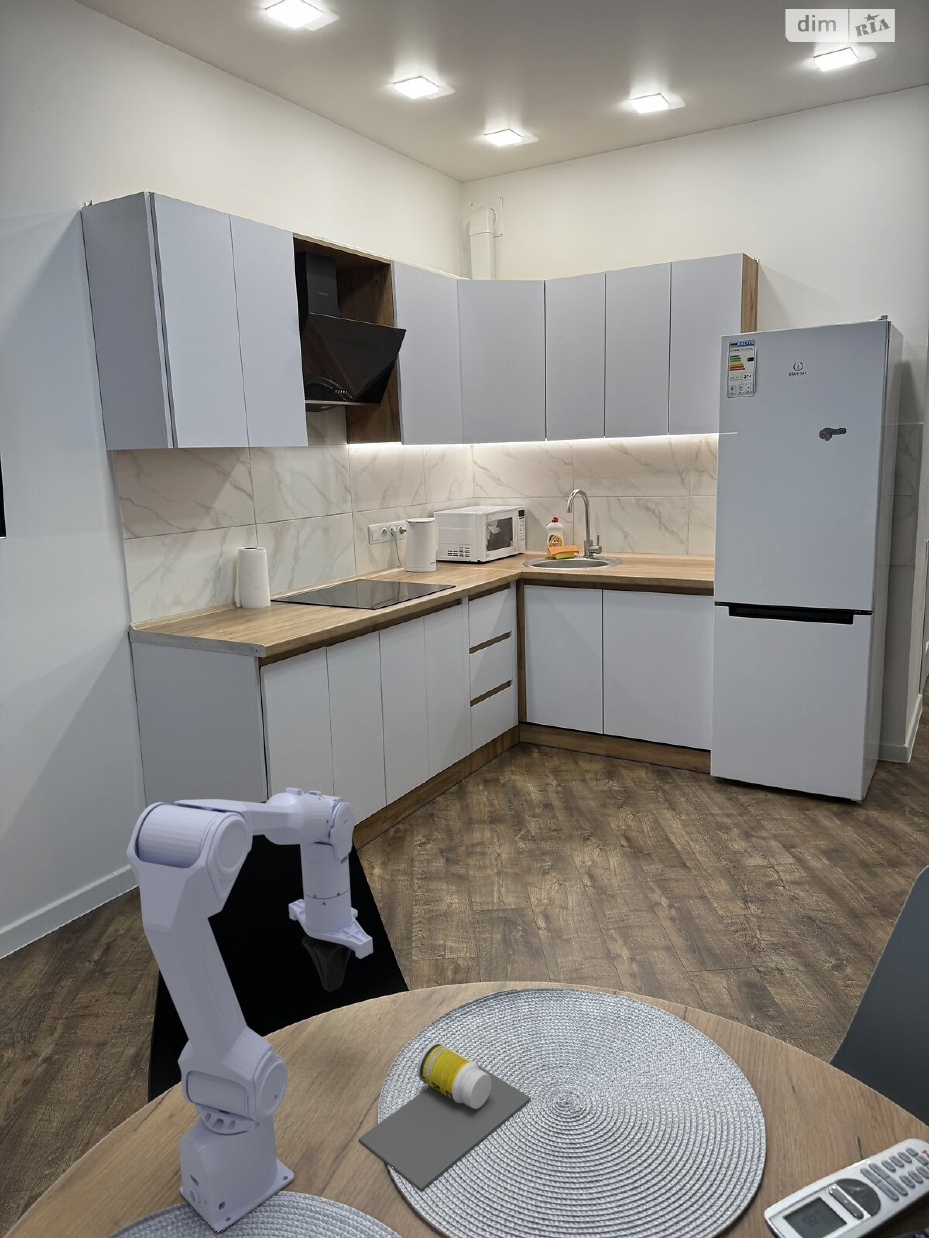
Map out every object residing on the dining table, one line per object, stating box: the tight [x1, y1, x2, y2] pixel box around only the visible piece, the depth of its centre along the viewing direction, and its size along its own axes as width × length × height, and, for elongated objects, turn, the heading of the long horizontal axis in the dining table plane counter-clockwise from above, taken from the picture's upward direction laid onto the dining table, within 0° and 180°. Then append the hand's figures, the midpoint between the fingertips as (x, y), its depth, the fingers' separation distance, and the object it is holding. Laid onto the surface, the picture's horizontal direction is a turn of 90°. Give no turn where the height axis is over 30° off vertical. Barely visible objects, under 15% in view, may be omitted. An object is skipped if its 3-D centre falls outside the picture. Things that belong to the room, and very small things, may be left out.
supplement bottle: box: [416, 1042, 491, 1109], centre depth 107 cm, size 5×5×8 cm
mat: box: [358, 1062, 532, 1193], centre depth 104 cm, size 18×10×1 cm, turn 136°
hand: (333, 986), depth 113 cm, fingers closed
